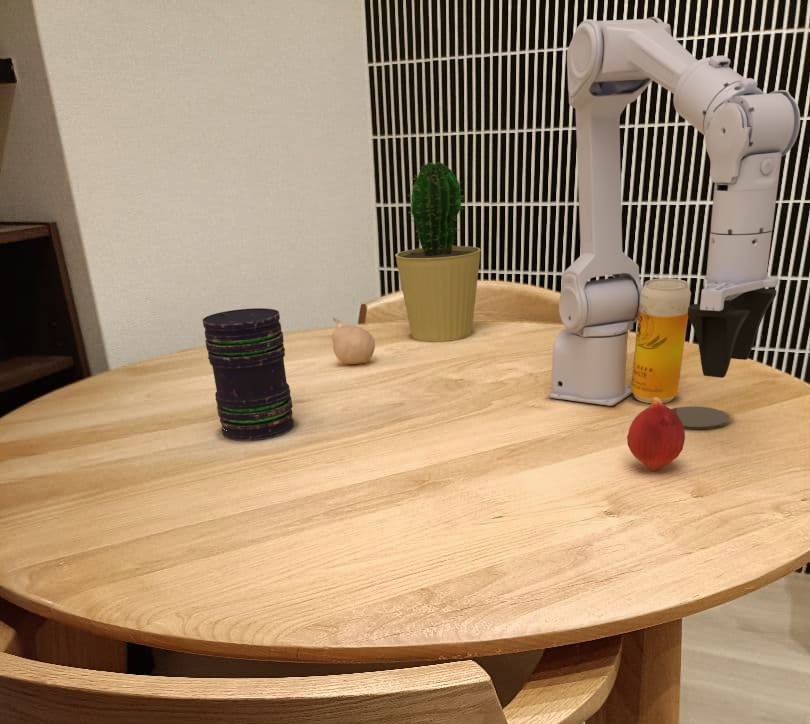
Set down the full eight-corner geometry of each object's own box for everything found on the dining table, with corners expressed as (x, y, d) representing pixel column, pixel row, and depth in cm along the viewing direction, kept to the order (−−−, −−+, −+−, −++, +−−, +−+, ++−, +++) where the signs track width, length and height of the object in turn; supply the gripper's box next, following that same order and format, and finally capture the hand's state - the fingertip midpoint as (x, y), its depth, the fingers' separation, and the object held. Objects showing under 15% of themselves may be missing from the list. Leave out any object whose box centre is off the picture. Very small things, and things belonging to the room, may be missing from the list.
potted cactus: (394, 345, 148) (380, 163, 135) (407, 326, 162) (397, 159, 148) (479, 343, 145) (474, 157, 132) (485, 324, 159) (482, 153, 146)
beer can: (624, 390, 113) (634, 279, 105) (667, 386, 113) (681, 275, 105) (639, 406, 107) (651, 291, 100) (684, 403, 108) (700, 287, 100)
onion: (683, 462, 90) (689, 390, 86) (680, 482, 85) (687, 407, 81) (628, 458, 91) (632, 389, 88) (622, 478, 87) (627, 405, 83)
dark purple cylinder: (308, 420, 112) (295, 308, 105) (269, 444, 104) (251, 325, 98) (248, 414, 116) (231, 307, 109) (206, 437, 108) (185, 323, 102)
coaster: (651, 424, 101) (651, 421, 101) (675, 406, 107) (675, 403, 107) (716, 433, 97) (716, 430, 96) (738, 414, 102) (738, 411, 102)
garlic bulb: (353, 357, 142) (348, 310, 138) (382, 360, 139) (378, 312, 135) (328, 366, 137) (323, 318, 134) (358, 370, 134) (353, 321, 130)
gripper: (761, 242, 74) (744, 389, 80) (802, 222, 84) (784, 354, 90) (684, 241, 78) (672, 381, 84) (732, 222, 88) (719, 348, 94)
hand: (726, 367), depth 87 cm, fingers open, 7 cm apart
